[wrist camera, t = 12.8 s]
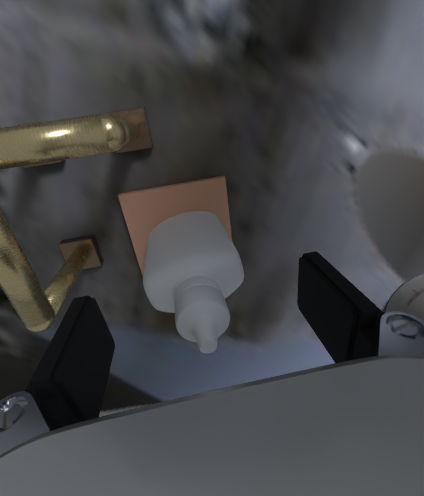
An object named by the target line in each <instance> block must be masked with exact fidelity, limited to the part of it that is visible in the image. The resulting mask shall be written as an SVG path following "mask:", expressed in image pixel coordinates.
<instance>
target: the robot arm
mask: <svg viewBox="0 0 424 496" xmlns="http://www.w3.org/2000/svg"><path fill="white" fill-rule="evenodd" d="M297 303H298V307H299V310H300V311H301V313H302V314H303V316H304V317H305V319H306V320H307V322H308V323H309V324H310V326H311V327H312V329H313V330H314V332H315V333H316V335H317V336H318V338H319V339H320V341H321V342H322V344H323V345H324V347H325V348H326V350H327V351H328V353H329V354H330V356H331V357H332V359H333V360H334V362H335V364H330V365H325V366H320V367H315V368H311V369H306V370H302V371H297V372H293V373H288V374H284V375H279V376H275V377H270V378H266V379H261V380H257V381H253V382H248V383H244V384H239V385H235V386H231V387H226V388H222V389H217V390H213V391H209V392H204V393H200V394H195V395H191V396H187V397H182V398H178V399H174V400H170V401H165V402H161V403H157V404H152V405H148V406H144V407H140V408H135V409H131V410H127V411H123V412H118V413H114V414H110V415H106V416H102V417H99V413H100V409H101V404H102V400H103V396H104V391H105V387H106V383H107V379H108V374H109V370H110V366H111V362H112V357H113V353H114V348H115V344H114V340H113V338H112V335H111V333H110V331H109V329H108V326H107V324H106V322H105V320H104V317H103V315H102V313H101V311H100V309H99V306H98V304H97V302H96V300H95V299H94V298H91V297H90V296H83V297H78V298H74V299H73V301H72V303H71V305H70V307H69V308H68V310H67V312H66V314H65V316H64V318H63V320H62V322H61V324H60V326H59V328H58V330H57V331H56V333H55V335H54V337H53V339H52V341H51V343H50V345H49V346H48V348H47V350H46V352H45V354H44V356H43V358H42V360H41V362H40V364H39V366H38V367H37V369H36V371H35V373H34V375H33V377H32V379H31V381H30V383H29V385H28V387H27V389H26V390H25V392H17V393H15V394H12V395H10V396H8V397H6V398H4V399H3V400H1V401H0V496H424V321H423V320H421V319H420V318H418V317H416V316H414V315H411V314H408V313H405V312H398V311H394V312H388V313H385V314H384V313H383V312H382V311H381V310H380V309H379V308H378V307H377V306H376V305H375V304H374V303H372V302H371V301H370V300H369V299H368V298H367V297H366V296H365V295H364V294H363V293H362V292H360V291H359V290H358V289H357V288H356V287H355V286H354V285H353V284H352V283H351V282H350V281H348V280H347V279H346V278H345V277H344V276H343V275H342V274H341V273H340V272H339V271H338V270H336V269H335V268H334V267H333V266H332V265H331V264H330V263H329V262H328V261H327V260H326V259H324V258H323V257H322V256H321V255H320V254H319V253H318V252H310V253H305V254H303V256H302V257H300V259H299V275H298V301H297Z"/></svg>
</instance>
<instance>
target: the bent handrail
mask: <svg viewBox="0 0 424 496" xmlns="http://www.w3.org/2000/svg"><path fill="white" fill-rule="evenodd" d="M147 148H153V144H152V140H151V135H150V131H149V126H148V122H147V118H146V113H145V109H144V108H137V109H130V110H123V111H116V112H109V113H105V114H98V115H91V116H84V117H78V118H71V119H64V120H57V121H50V122H40V123H33V124H26V125H19V126H12V127H5V128H1V129H0V170H1V169H8V168H14V167H20V166H23V168H27V167H33V166H39V165H46V164H52V163H58V162H63V161H66V160H65V159H71V158H77V157H84V156H90V155H96V154H103V153H109V152H115V151H116V152H117V153H121V152H128V151H134V150H140V149H147ZM59 248H60V250H61V252H62V254H63V256H64V259H65V261H66V262H65V263H64V265H63V266H62V267H61V269H60V270H59V271H58V273H57V274H56V275H55V277H54V278H53V280H52V281H51V282H50V284H49V285H48V286H47V288H46V289H45V290H43V288H42V287H41V285H40V283H39V281H38V279H37V277H36V275H35V273H34V271H33V270H32V268H31V266H30V264H29V262H28V260H27V258H26V256H25V254H24V253H23V251H22V249H21V247H20V245H19V243H18V241H17V239H16V237H15V236H14V234H13V232H12V230H11V228H10V226H9V224H8V222H7V220H6V219H5V217H4V215H3V213H2V211H1V209H0V287H1V288H2V290H3V292H4V293H5V295H6V296H7V298H8V300H9V301H10V303H11V305H12V306H13V308H14V309H15V311H16V313H17V314H18V316H19V317H20V319H21V321H22V322H23V324H24V326H25V327H26V328H27V329H28V330H30V331H33V332H42V331H45V330H47V329H48V328H50V327H51V326H52V325H53V323H54V321H55V318H56V314H57V312H58V311H59V309H60V307H61V305H62V304H63V302H64V300H65V298H66V297H67V295H68V293H69V291H70V290H71V288H72V286H73V285H74V283H75V281H76V279H77V278H78V276H79V274H80V272H81V271H82V270H83V269H88V268H93V267H98V266H102V263H103V258H102V256H101V253H100V250H99V248H98V245H97V242H96V240H95V237H94V235H89V236H84V237H79V238H73V239H68V240H62V241H61V242H60V243H59Z"/></svg>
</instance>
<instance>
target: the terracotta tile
mask: <svg viewBox="0 0 424 496" xmlns="http://www.w3.org/2000/svg"><path fill="white" fill-rule="evenodd" d="M118 198H119V201H120V204H121V208H122V211H123V214H124V217H125V221H126V224H127V227H128V230H129V234H130V237H131V240H132V243H133V247H134V250H135V253H136V257H137V260H138V263H139V266H140V270H141V273H142V276H143V275H144V266H145V258H146V251H147V244H148V237H149V234H150V232H151V231H152V230H153V229H154V228H155V227H156V226H157V225H159V224H160V223H161V222H163V221H165V220H166V219H168V218H170V217H172V216H175V215H178V214H181V213H185V212H190V211H209V212H213V213H215V214H216V215H217V217H218V218H219V220H220V222H221V223H222V225H223V227H224V228H225V230H226V232H227V233H228V235H229V237H230V239H231V240H232V234H231V225H230V216H229V207H228V197H227V188H226V179H225V176H224V175H223V176H217V177H212V178H206V179H200V180H194V181H188V182H183V183H177V184H171V185H165V186H159V187H154V188H148V189H142V190H136V191H130V192H125V193H119V194H118Z"/></svg>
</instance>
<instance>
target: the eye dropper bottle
mask: <svg viewBox="0 0 424 496" xmlns="http://www.w3.org/2000/svg"><path fill="white" fill-rule="evenodd" d="M243 280H244V270H243V266H242V262H241V259H240V256H239V253H238V251H237V249H236V247H235V246H234V244H233V242H232V240H231V239H230V237H229V235H228V233H227V232H226V230H225V228H224V227H223V225H222V223H221V222H220V220H219V218H218V217H217V215H216V214H215V213H213V212H209V211H190V212H185V213H181V214H178V215H175V216H172V217H170V218H168V219H166V220H165V221H163V222H161V223H160V224H159V225H157V226H156V227H155V228H154V229H153V230H152V231H151V232H150V234H149V237H148V244H147V251H146V258H145V266H144V275H143V286H144V290H145V292H146V295H147V297H148V299H149V301H150V303H151V304H152V306H153V307H154V308H155V309H156V310H159V311H162V312H170V313H175V324H176V329H177V331H178V333H179V334H180V335H181V336H182V337H183V338H185V339H186V340H188V341H191V342H196V343H197V344H198V347H199V349H200V351H201V352H202V353H204V354H210V353H213V352H214V351H215V350H216V349H217V338H218V337H219V336H220V335H222V334H223V333H224V332H225V330H226V329H227V327H228V326H229V322H230V313H229V310H228V307H227V304H226V301H225V298H227V297H228V296H229V295H231V294H232V293H233V292H234V291H235V290H236V289H237V288H238V287H239V286H240V285H241V284H242V282H243Z"/></svg>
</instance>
